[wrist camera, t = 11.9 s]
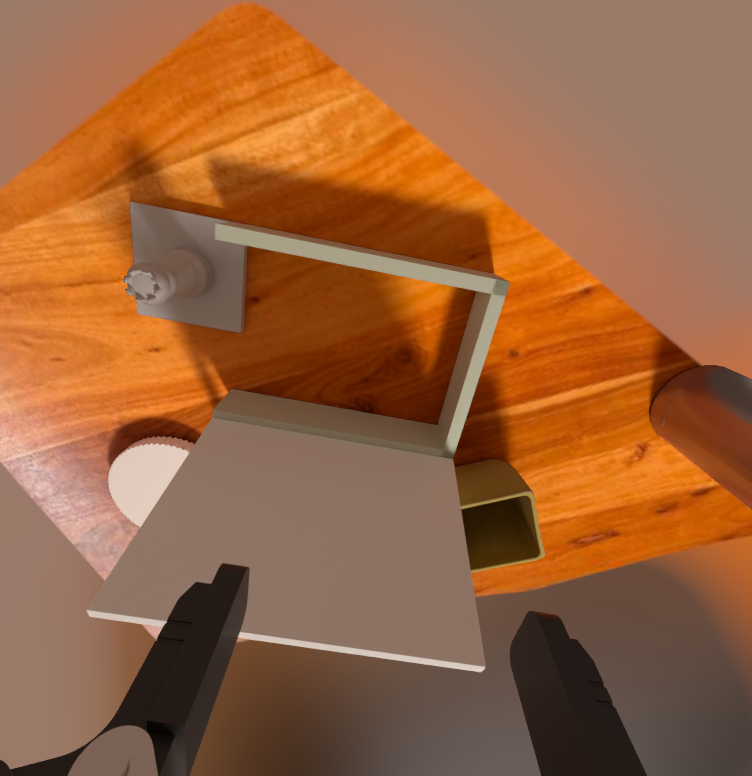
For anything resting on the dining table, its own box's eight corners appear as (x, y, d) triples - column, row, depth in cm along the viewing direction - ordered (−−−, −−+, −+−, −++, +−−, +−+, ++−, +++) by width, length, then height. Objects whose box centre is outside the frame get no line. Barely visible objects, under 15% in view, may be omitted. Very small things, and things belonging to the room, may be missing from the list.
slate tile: (248, 224, 35) (245, 224, 34) (243, 330, 39) (240, 333, 38) (136, 201, 34) (129, 201, 33) (143, 311, 38) (137, 313, 37)
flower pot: (430, 457, 45) (440, 511, 36) (505, 439, 43) (533, 491, 35) (447, 514, 48) (460, 575, 40) (517, 498, 47) (546, 559, 39)
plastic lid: (165, 409, 43) (153, 420, 41) (260, 485, 47) (253, 499, 45) (99, 476, 47) (84, 489, 45) (191, 541, 51) (182, 556, 49)
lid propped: (452, 458, 39) (501, 634, 22) (443, 489, 40) (482, 674, 24) (213, 416, 37) (79, 572, 21) (212, 450, 39) (88, 618, 23)
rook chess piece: (177, 299, 37) (125, 320, 29) (159, 251, 35) (99, 260, 28) (221, 292, 36) (180, 311, 29) (205, 242, 35) (157, 249, 27)
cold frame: (493, 273, 36) (542, 299, 25) (430, 480, 46) (445, 566, 35) (238, 222, 35) (168, 225, 24) (230, 446, 45) (177, 524, 34)
